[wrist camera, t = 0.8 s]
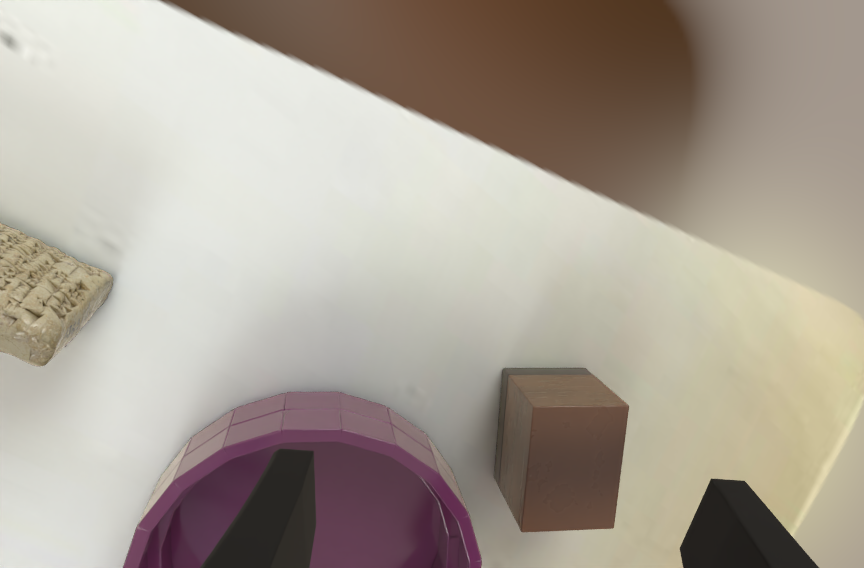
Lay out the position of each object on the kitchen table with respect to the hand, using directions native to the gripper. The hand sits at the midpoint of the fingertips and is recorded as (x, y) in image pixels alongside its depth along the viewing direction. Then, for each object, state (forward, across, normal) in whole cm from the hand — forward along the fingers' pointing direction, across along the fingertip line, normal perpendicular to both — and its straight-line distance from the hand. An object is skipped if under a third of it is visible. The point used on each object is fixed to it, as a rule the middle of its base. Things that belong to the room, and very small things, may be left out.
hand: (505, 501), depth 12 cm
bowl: (+13, +6, +19) cm, 24 cm away
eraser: (+17, -5, +14) cm, 23 cm away
